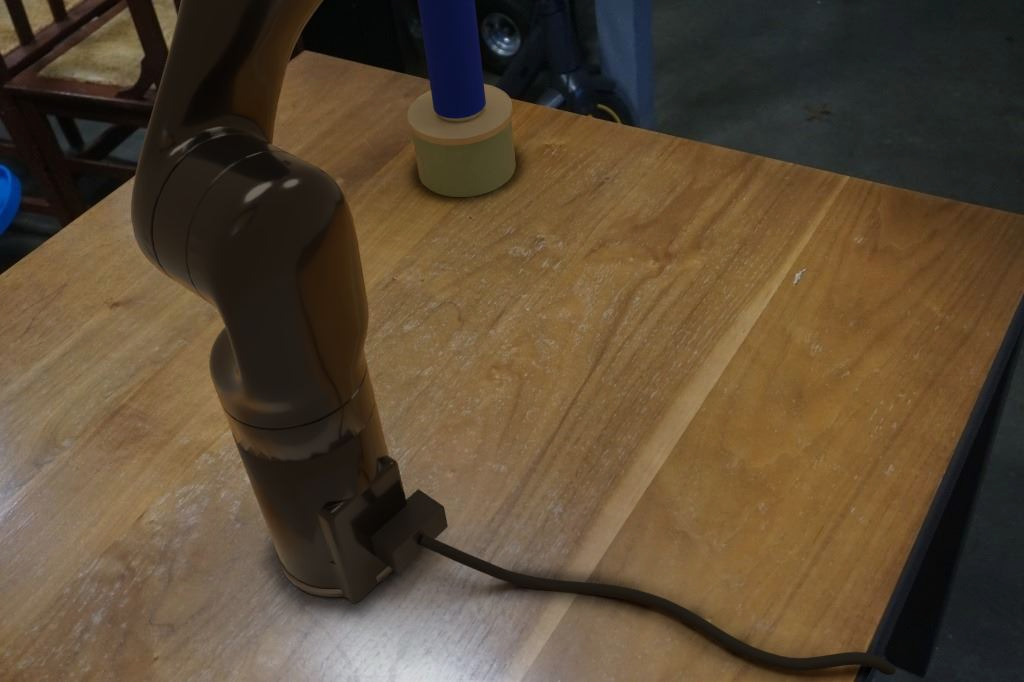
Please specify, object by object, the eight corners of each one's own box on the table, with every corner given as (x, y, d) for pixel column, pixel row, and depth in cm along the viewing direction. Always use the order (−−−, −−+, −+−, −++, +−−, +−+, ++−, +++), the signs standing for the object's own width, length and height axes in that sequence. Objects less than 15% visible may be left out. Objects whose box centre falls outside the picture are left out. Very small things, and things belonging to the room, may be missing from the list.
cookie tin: (538, 161, 113) (533, 101, 108) (470, 211, 108) (462, 150, 103) (464, 130, 118) (457, 71, 114) (396, 176, 113) (385, 117, 108)
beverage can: (490, 96, 109) (474, -50, 99) (481, 124, 106) (464, -24, 96) (439, 96, 110) (419, -49, 100) (429, 124, 107) (407, -24, 96)
